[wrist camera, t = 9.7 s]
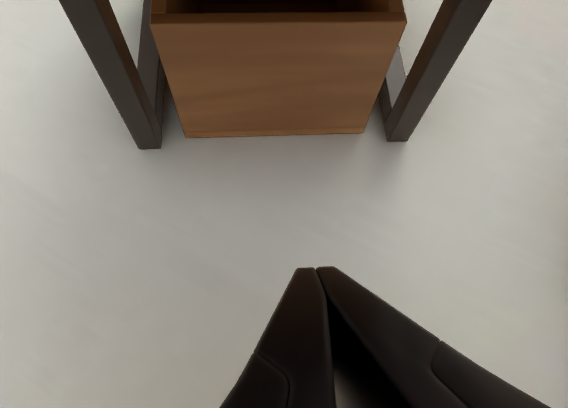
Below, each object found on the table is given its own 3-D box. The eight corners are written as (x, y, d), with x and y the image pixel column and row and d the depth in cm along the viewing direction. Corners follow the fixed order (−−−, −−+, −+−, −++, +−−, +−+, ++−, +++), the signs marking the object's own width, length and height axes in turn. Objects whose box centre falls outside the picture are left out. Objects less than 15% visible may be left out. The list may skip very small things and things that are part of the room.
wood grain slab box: (362, 133, 24) (407, 22, 16) (185, 138, 23) (148, 24, 16) (342, 4, 28) (371, -133, 20) (190, 5, 27) (162, -136, 20)
